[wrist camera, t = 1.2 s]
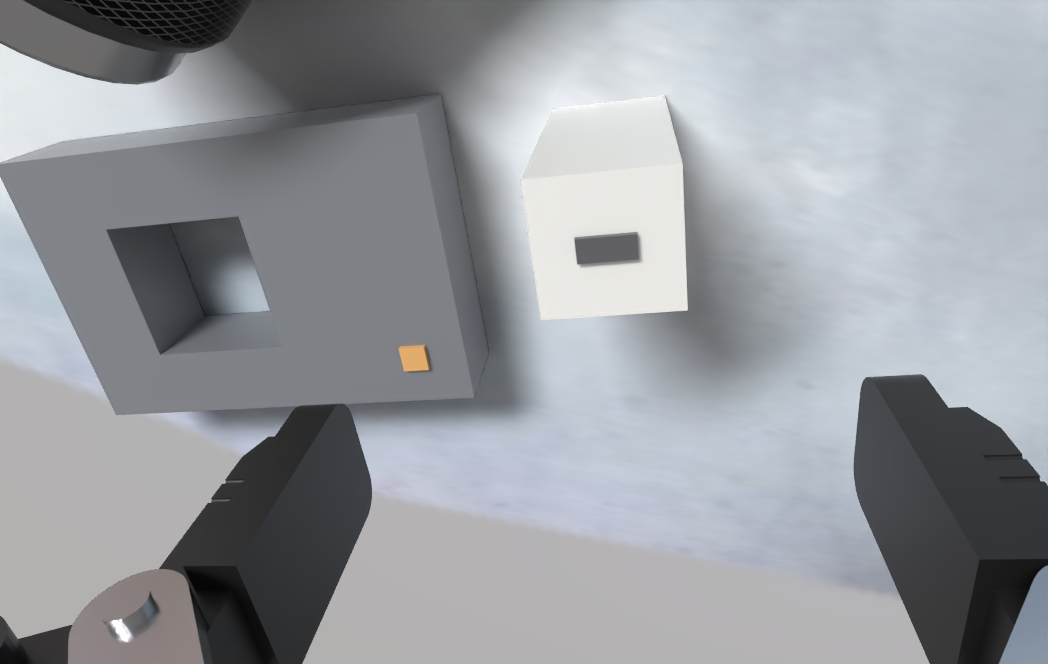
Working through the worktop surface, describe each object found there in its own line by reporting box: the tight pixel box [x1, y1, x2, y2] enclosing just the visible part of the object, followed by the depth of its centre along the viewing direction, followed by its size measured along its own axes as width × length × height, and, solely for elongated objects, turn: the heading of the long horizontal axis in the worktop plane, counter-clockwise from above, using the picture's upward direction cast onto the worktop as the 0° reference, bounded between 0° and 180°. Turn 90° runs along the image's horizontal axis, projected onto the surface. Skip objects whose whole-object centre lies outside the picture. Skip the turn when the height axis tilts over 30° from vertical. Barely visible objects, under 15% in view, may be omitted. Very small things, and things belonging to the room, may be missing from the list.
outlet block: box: [0, 94, 489, 415], centre depth 28 cm, size 16×11×4 cm
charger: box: [521, 95, 688, 320], centre depth 22 cm, size 4×4×9 cm
